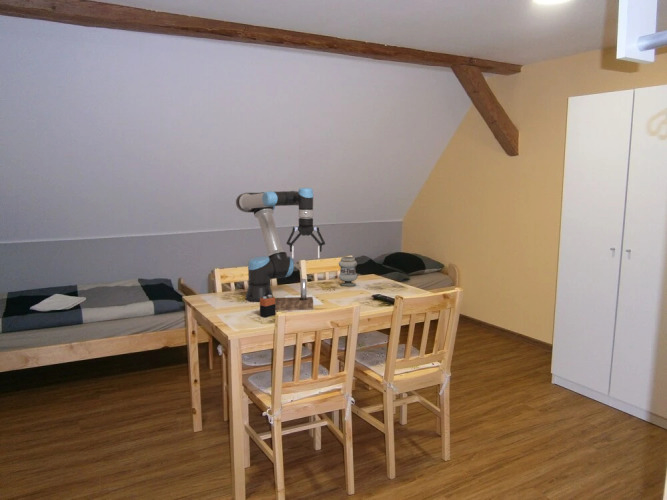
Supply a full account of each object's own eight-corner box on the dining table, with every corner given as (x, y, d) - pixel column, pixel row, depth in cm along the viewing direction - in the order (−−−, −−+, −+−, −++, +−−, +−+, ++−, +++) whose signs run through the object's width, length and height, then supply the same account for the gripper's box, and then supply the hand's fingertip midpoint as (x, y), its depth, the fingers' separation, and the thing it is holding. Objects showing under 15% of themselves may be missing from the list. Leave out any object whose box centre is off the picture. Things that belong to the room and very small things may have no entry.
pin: (300, 306, 258) (300, 280, 256) (300, 304, 261) (300, 278, 259) (306, 306, 258) (306, 280, 256) (306, 304, 261) (306, 278, 259)
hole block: (266, 310, 254) (266, 302, 253) (267, 306, 263) (267, 297, 262) (313, 309, 256) (313, 301, 255) (312, 305, 265) (312, 297, 264)
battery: (275, 315, 246) (275, 295, 244) (265, 317, 241) (265, 297, 239) (269, 313, 249) (269, 294, 247) (259, 316, 243) (259, 296, 242)
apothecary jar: (335, 284, 317) (335, 256, 315) (351, 282, 323) (351, 255, 321) (344, 288, 307) (344, 259, 304) (361, 286, 312) (361, 258, 310)
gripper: (281, 218, 254) (281, 259, 257) (330, 218, 255) (329, 259, 258) (282, 216, 261) (282, 256, 265) (329, 217, 263) (329, 256, 266)
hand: (305, 257), depth 262 cm, fingers open, 13 cm apart
